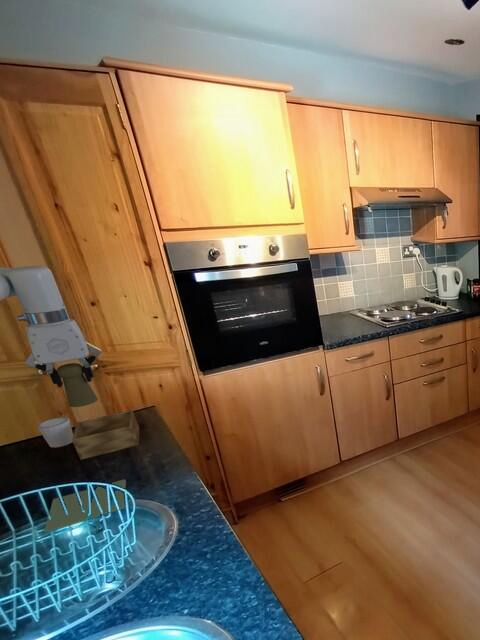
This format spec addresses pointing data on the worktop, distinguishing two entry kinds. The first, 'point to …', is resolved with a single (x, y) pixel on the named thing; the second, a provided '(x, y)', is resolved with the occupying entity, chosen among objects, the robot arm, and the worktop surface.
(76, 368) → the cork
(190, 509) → the worktop surface
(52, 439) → the grey cup
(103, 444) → the basket
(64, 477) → the worktop surface
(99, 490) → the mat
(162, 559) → the worktop surface
